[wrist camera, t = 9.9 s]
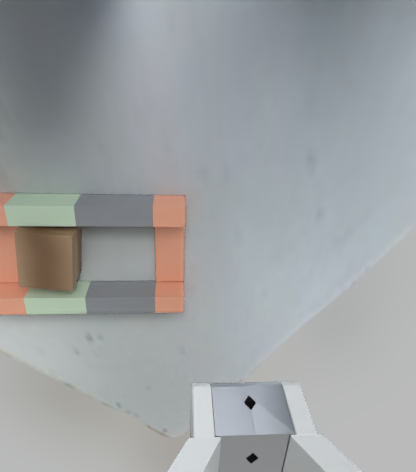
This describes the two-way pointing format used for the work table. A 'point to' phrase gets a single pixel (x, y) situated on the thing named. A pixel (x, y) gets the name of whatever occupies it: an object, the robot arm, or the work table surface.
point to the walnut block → (48, 256)
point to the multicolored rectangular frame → (97, 215)
